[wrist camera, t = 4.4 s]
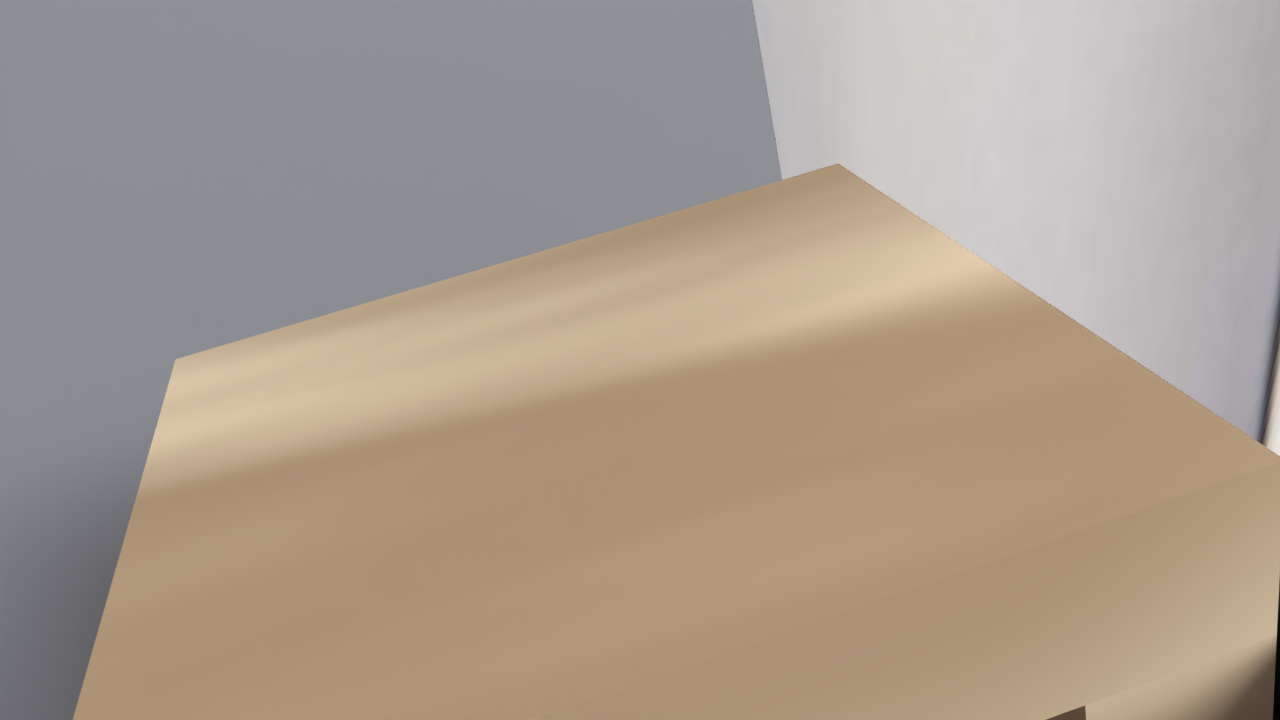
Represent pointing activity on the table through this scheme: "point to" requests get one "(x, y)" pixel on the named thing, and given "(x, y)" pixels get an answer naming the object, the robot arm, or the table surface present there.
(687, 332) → the birch collar
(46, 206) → the slate board
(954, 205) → the table surface
